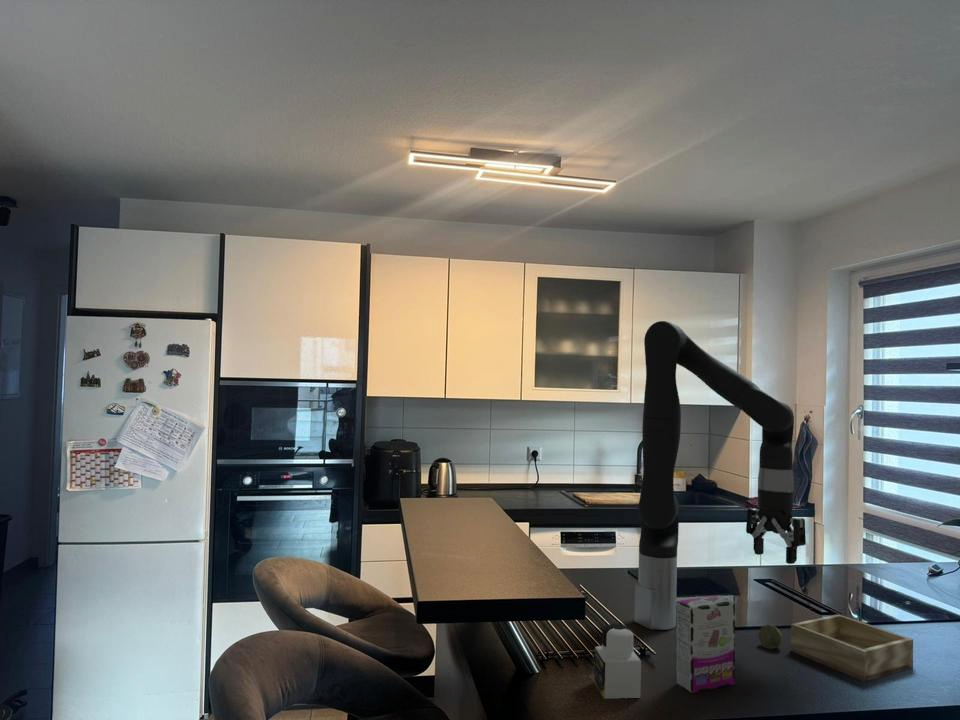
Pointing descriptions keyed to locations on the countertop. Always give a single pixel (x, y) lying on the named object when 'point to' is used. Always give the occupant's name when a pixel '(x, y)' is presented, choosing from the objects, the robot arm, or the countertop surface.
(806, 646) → the crate
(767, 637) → the lime
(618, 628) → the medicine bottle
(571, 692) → the countertop surface
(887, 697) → the countertop surface
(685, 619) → the candy bar box
